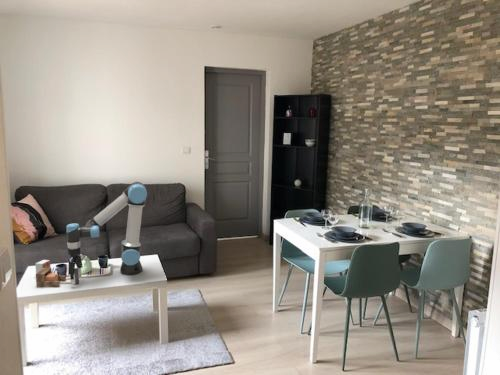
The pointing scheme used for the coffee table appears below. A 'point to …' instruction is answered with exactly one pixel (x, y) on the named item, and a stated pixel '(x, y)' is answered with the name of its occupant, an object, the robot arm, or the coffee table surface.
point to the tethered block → (55, 277)
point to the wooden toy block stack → (42, 283)
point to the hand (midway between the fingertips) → (76, 280)
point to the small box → (42, 265)
